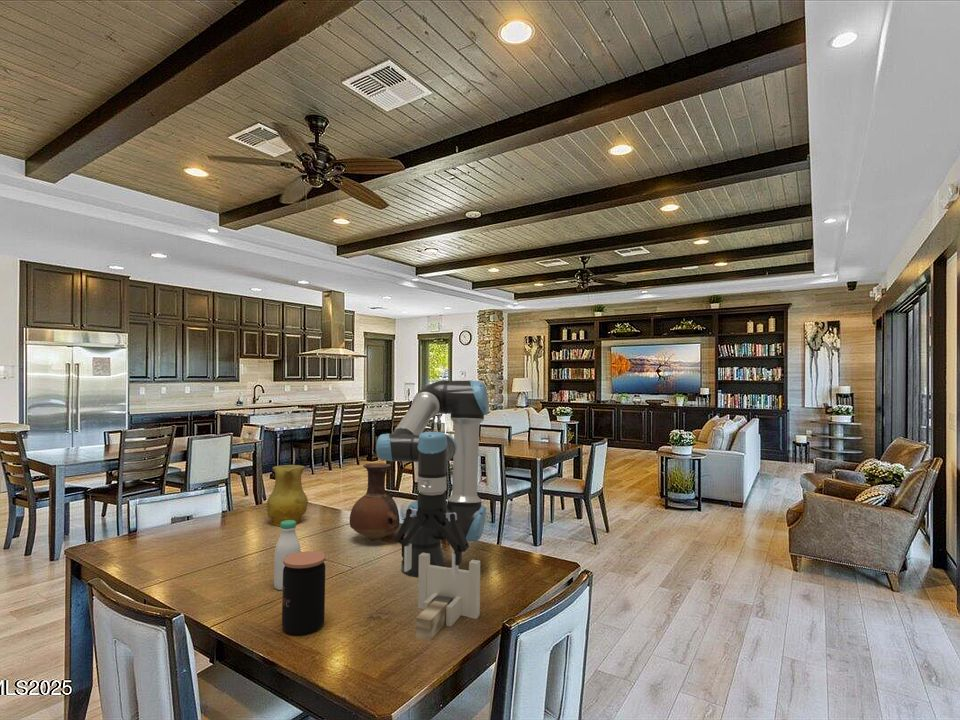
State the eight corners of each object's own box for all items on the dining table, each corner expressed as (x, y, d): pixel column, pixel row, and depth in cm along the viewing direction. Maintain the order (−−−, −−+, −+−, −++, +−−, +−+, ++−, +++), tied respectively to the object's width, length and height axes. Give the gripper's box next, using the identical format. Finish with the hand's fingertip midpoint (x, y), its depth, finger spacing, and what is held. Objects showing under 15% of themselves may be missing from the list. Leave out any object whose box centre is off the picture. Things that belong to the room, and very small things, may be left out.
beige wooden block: (430, 640, 134) (430, 619, 135) (415, 637, 136) (415, 616, 136) (452, 616, 148) (452, 597, 148) (438, 614, 149) (438, 595, 149)
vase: (414, 539, 215) (415, 464, 216) (378, 553, 199) (379, 471, 199) (370, 528, 229) (372, 458, 230) (334, 540, 213) (335, 464, 213)
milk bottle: (275, 592, 162) (276, 526, 163) (272, 583, 169) (273, 520, 169) (301, 588, 166) (303, 523, 166) (297, 579, 172) (299, 517, 173)
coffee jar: (288, 617, 146) (289, 551, 146) (328, 616, 147) (329, 550, 147) (276, 637, 135) (277, 565, 136) (319, 635, 136) (321, 564, 136)
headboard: (407, 618, 146) (407, 562, 147) (421, 605, 155) (422, 552, 155) (467, 629, 140) (468, 571, 141) (479, 615, 149) (480, 560, 149)
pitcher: (256, 526, 230) (261, 467, 232) (279, 516, 248) (284, 462, 250) (293, 529, 227) (298, 470, 229) (314, 520, 245) (318, 465, 247)
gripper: (382, 490, 141) (381, 571, 141) (471, 499, 133) (470, 585, 132) (396, 485, 148) (395, 562, 148) (481, 493, 140) (480, 575, 139)
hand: (431, 573), depth 140 cm, fingers open, 13 cm apart
